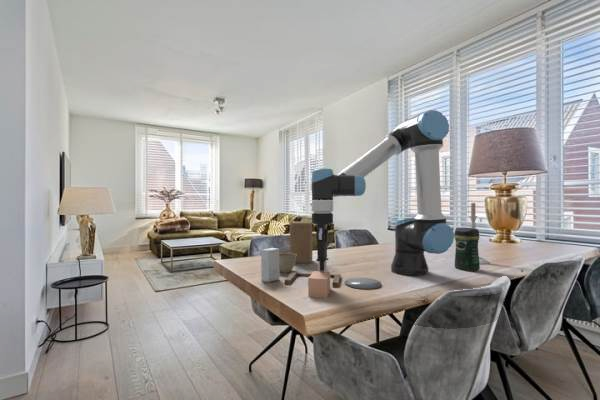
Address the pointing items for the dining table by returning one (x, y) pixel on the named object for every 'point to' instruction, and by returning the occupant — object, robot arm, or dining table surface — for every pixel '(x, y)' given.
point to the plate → (362, 283)
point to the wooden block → (301, 241)
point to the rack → (295, 274)
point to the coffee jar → (467, 249)
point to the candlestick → (473, 225)
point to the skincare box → (269, 264)
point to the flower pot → (286, 261)
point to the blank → (319, 284)
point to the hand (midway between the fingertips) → (322, 279)
